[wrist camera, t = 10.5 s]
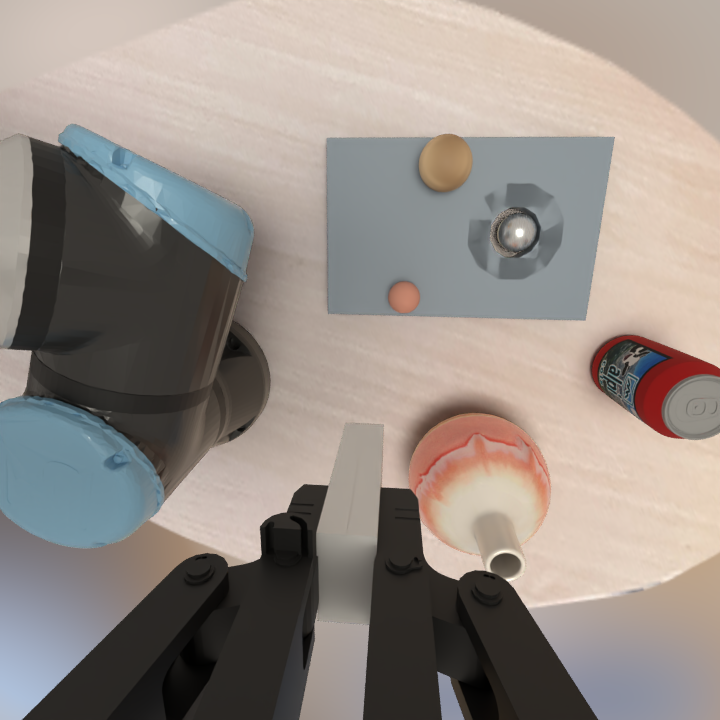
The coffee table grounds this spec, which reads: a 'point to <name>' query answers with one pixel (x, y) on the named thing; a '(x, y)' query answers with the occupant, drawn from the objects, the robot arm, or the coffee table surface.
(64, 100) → the coffee table surface
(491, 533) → the vase
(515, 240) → the steel ball
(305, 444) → the coffee table surface
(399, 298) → the rubber ball
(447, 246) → the plate
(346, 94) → the coffee table surface
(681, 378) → the beverage can
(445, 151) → the wooden ball
